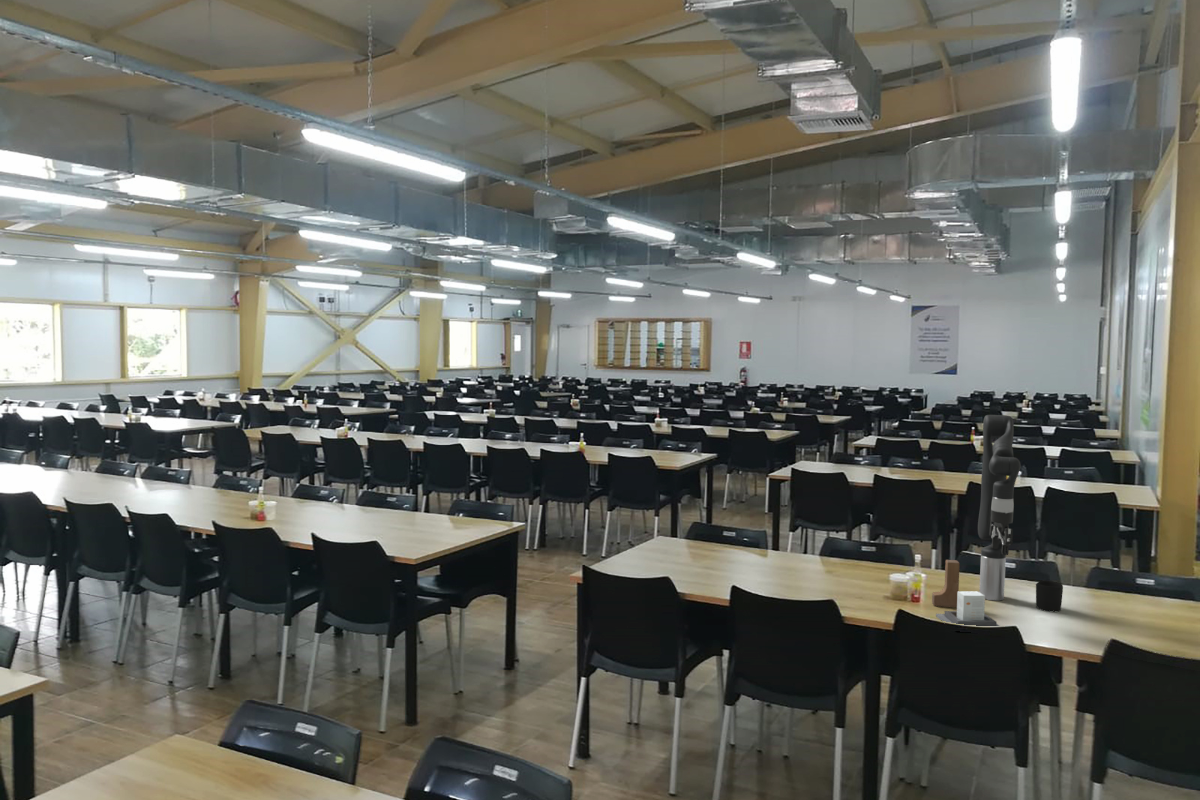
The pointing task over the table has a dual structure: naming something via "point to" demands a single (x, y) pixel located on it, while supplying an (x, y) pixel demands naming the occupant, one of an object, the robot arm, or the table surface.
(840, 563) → the table surface
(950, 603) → the wooden block
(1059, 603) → the pen holder
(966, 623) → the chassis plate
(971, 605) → the small box
